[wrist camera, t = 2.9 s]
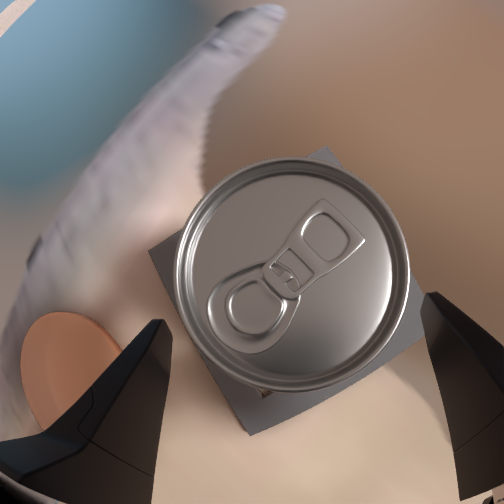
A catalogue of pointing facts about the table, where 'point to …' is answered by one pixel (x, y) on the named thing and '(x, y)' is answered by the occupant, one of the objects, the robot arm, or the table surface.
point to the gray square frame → (290, 404)
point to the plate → (63, 362)
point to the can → (291, 274)
